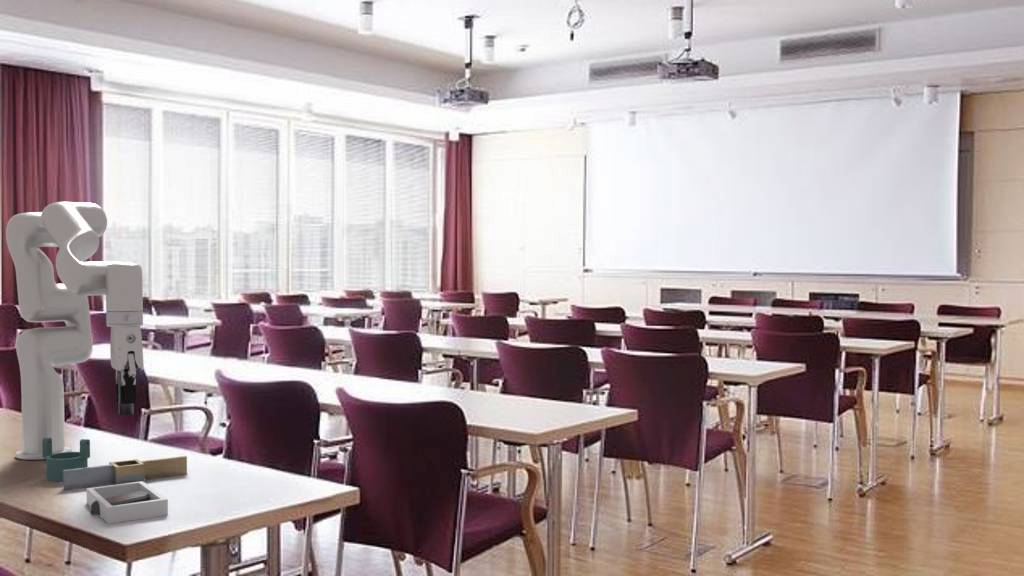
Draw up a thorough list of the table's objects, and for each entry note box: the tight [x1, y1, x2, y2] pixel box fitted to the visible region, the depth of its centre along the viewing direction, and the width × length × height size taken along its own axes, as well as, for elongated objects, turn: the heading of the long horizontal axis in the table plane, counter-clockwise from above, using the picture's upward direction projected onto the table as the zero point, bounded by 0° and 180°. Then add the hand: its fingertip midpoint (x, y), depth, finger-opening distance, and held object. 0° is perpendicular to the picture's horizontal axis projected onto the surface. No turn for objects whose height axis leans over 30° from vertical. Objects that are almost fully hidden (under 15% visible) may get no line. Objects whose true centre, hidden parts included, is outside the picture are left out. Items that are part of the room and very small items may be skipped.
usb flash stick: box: [90, 491, 150, 517], centre depth 196 cm, size 5×12×3 cm, turn 146°
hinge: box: [62, 455, 188, 490], centre depth 220 cm, size 26×6×4 cm, turn 125°
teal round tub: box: [42, 438, 91, 483], centre depth 223 cm, size 9×9×9 cm
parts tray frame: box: [85, 481, 169, 524], centre depth 196 cm, size 18×11×3 cm, turn 35°
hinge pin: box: [118, 369, 134, 416], centre depth 219 cm, size 3×3×10 cm
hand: (126, 401), depth 219 cm, fingers closed on hinge pin, 3 cm apart
